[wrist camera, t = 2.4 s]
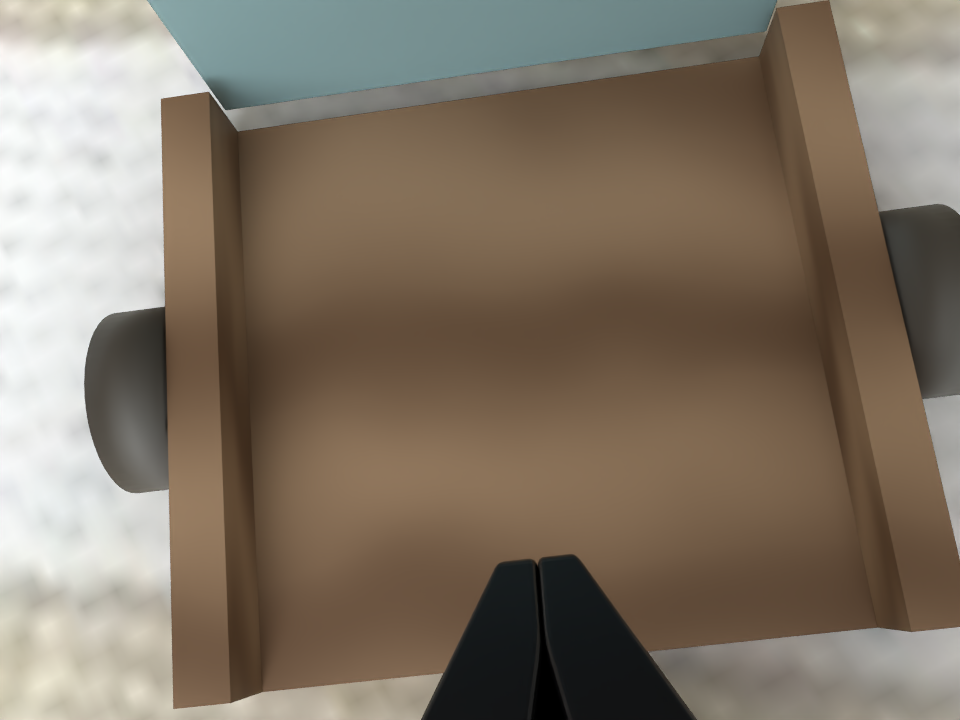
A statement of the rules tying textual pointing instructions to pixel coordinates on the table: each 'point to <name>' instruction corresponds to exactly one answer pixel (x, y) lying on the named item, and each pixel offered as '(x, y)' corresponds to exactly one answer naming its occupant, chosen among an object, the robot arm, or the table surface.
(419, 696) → the table surface
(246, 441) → the trailer
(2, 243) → the table surface
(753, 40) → the table surface
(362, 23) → the panel
